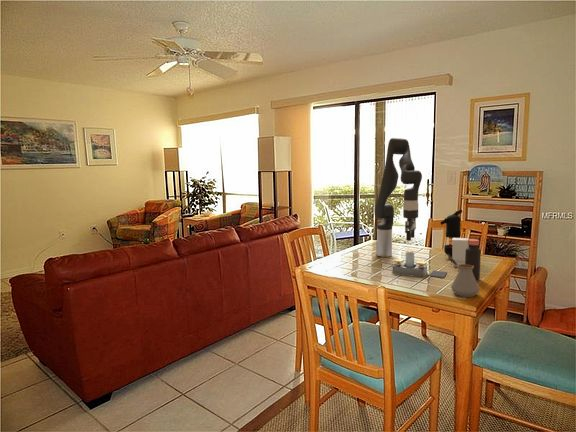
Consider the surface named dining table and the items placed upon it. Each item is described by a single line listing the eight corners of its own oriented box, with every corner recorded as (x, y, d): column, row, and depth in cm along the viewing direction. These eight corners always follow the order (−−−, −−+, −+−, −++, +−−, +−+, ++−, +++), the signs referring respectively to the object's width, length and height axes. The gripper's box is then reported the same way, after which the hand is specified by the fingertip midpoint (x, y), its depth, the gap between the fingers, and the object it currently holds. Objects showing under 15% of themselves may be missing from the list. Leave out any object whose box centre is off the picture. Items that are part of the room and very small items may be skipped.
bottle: (472, 281, 183) (474, 241, 180) (461, 278, 189) (462, 239, 187) (482, 279, 186) (484, 240, 183) (471, 276, 192) (472, 238, 189)
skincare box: (467, 264, 213) (468, 238, 211) (468, 267, 207) (469, 240, 205) (451, 263, 217) (452, 237, 215) (451, 266, 211) (452, 239, 209)
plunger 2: (416, 271, 197) (416, 262, 196) (417, 269, 201) (418, 260, 200) (425, 272, 195) (425, 263, 194) (426, 270, 198) (426, 261, 198)
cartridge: (404, 273, 200) (404, 251, 198) (406, 271, 204) (406, 249, 202) (413, 274, 198) (413, 252, 196) (414, 272, 202) (415, 250, 200)
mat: (429, 276, 194) (429, 275, 194) (432, 271, 202) (432, 270, 202) (444, 278, 190) (444, 277, 190) (446, 272, 199) (446, 272, 199)
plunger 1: (393, 269, 203) (393, 260, 202) (395, 267, 207) (395, 258, 206) (401, 270, 201) (401, 261, 200) (403, 267, 204) (403, 259, 204)
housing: (392, 273, 201) (392, 266, 200) (397, 268, 209) (397, 261, 209) (423, 277, 193) (423, 269, 192) (427, 272, 201) (427, 265, 201)
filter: (456, 256, 234) (457, 208, 230) (464, 259, 225) (466, 210, 221) (435, 257, 232) (436, 209, 228) (443, 260, 223) (444, 211, 219)
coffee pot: (485, 297, 162) (486, 263, 160) (460, 299, 160) (461, 265, 158) (457, 282, 183) (458, 252, 181) (434, 284, 181) (435, 253, 179)
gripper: (406, 207, 204) (406, 236, 206) (400, 210, 192) (400, 241, 194) (420, 207, 201) (420, 237, 203) (415, 210, 188) (414, 242, 190)
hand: (410, 239), depth 198 cm, fingers open, 8 cm apart
